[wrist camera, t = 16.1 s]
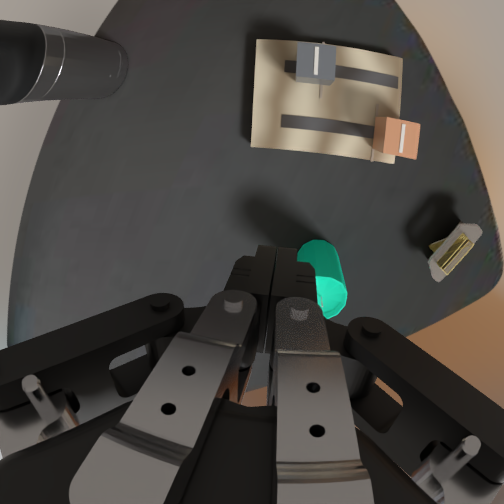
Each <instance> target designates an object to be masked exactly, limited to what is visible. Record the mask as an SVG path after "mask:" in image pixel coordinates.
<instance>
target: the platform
mask: <svg viewBox="0 0 504 504" xmlns="http://www.w3.org/2000/svg"><path fill="white" fill-rule="evenodd" d="M481 234H482V230H481V228H480V227H479V226H478V225H477V224H464V223H463V222H461V221H460V223H459V224H458V225H457V226H456V227H455V229H454V230H453V231H452V232H451V233H450V234H449V236H448V237H447V238H445V239H442V240H440V241H437V242H434V243H432V244H431V245H429V247H430V249H431V250H432V251H433V252H434V253H433V254H432V255H431V256H430V257H429V258H428V260H429V261H428V263H429V267H430V271H431V275H432V277H433V278H434V279H435V280H436V281H437V282H440V281H441V280H442V279H443V278H444V277H445V276H446V275H448V274H449V273H450V272H451V271H452V270H453V269H454V267H455V266H456V265H457V264H458V263H459V262H460V261H461V260H462V258H463V257H464V256H465V255H466V254H467V253H468V252H469V250H470V249H471V248H472V247H473V246H474V243H475V242H476V241H477V239H478V238H479V237H480V236H481ZM472 245H473V246H472ZM466 252H467V253H466ZM450 270H451V271H450ZM449 271H450V272H449Z"/></svg>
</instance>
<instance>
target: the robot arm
mask: <svg viewBox="0 0 504 504" xmlns="http://www.w3.org/2000/svg"><path fill="white" fill-rule="evenodd" d="M127 69H128V58H127V54H126V52H125V50H124V48H123V47H122V46H121V45H119V44H117V43H115V42H111V41H108V40H104V39H101V38H98V37H94V36H90V35H86V34H82V33H77V32H74V31H69V30H65V29H60V28H55V27H49V26H44V25H38V24H31V23H23V22H14V21H5V20H0V105H7V104H14V103H23V102H32V101H43V100H62V99H100V98H105V97H107V96H109V95H111V94H113V93H114V92H115V91H116V90H117V89H118V88H119V87H120V85H121V84H122V82H123V80H124V79H125V76H126V73H127ZM276 255H277V261H276ZM275 266H276V267H275ZM267 326H268V329H267ZM266 332H267V338H266ZM265 338H266V348H265V353H269V354H270V361H269V369H268V385H267V406H259V407H246V406H243V405H241V403H242V399H243V397H244V393H245V390H246V387H247V384H248V381H249V378H250V375H251V372H252V365H253V362H254V360H255V356H256V352H260V353H263V349H264V344H265ZM143 345H145V347H146V352H147V354H146V355H144V356H141V357H139V358H137V359H135V360H132V361H130V362H128V363H126V364H123V365H121V366H119V367H116V368H114V369H111V370H109V365H110V363H111V361H112V360H113V359H114V358H116V357H118V356H120V355H122V354H125V353H127V352H129V351H132V350H134V349H136V348H139V347H141V346H143ZM377 377H378V378H379V379H380V380H382V381H383V382H384V383H386V385H388V386H389V387H390V388H391V389H393V390H394V391H395V392H396V393H397V394H398V395H399V396H400V397H401V399H402V401H403V407H402V406H401V405H400V404H399V403H398V402H396V401H395V400H394V399H393V398H392V397H390V396H389V395H388V394H387V393H386V392H385V391H383V390H382V389H381V388H379V386H378V385H376V384H375V381H376V379H377ZM354 424H355V425H356V426H357V427H358V428H359V429H360V430H359V429H357V428H356V427H355V425H354ZM0 449H1V453H2V456H3V459H1V460H0V504H490V503H491V502H492V501H493V499H494V497H495V496H496V494H497V492H498V491H499V489H500V488H501V486H502V485H503V484H504V409H502V408H501V407H500V406H499V405H497V404H496V403H495V402H493V401H492V400H491V399H489V398H488V397H487V396H485V395H484V394H483V393H481V392H480V391H478V390H477V389H476V388H474V387H473V386H472V385H470V384H469V383H468V382H466V381H465V380H464V379H462V378H461V377H460V376H458V375H457V374H455V373H454V372H453V371H451V370H450V369H449V368H447V367H446V366H445V365H443V364H442V363H440V362H439V361H437V360H436V359H435V358H433V357H432V356H431V355H429V354H428V353H426V352H425V351H423V350H422V349H421V348H419V347H418V346H417V345H415V344H414V343H413V342H411V341H410V340H408V339H407V338H406V337H404V336H403V335H401V334H400V333H399V332H397V331H396V330H394V329H393V328H392V327H390V326H389V325H387V324H386V323H384V322H383V321H381V320H378V319H376V318H372V317H359V318H355V319H353V320H352V321H351V322H350V323H349V324H348V327H347V326H344V325H340V324H337V323H334V322H332V321H330V320H328V319H327V318H325V317H324V316H323V311H322V308H321V307H320V306H319V305H318V300H317V286H316V274H315V269H314V267H313V266H312V265H311V264H310V263H309V262H300V261H297V249H293V248H284V247H279V248H278V254H277V247H274V246H264V245H258V249H257V252H256V255H255V257H253V256H243V257H241V258H240V259H238V260H237V261H236V262H235V265H234V267H233V269H232V272H231V275H230V277H229V279H228V281H227V284H226V286H225V288H224V291H221V292H219V293H217V294H215V295H214V296H213V297H212V298H211V300H210V301H209V303H208V305H207V306H204V307H196V308H184V304H183V301H182V300H181V299H180V298H179V297H178V296H176V295H173V294H169V293H157V294H152V295H149V296H146V297H144V298H141V299H138V300H136V301H133V302H130V303H128V304H125V305H122V306H119V307H117V308H114V309H111V310H109V311H106V312H103V313H100V314H98V315H95V316H92V317H90V318H87V319H84V320H81V321H79V322H76V323H73V324H71V325H68V326H65V327H62V328H60V329H57V330H54V331H52V332H49V333H46V334H43V335H41V336H38V337H35V338H32V339H30V340H27V341H24V342H21V343H19V344H16V345H13V346H10V347H8V348H5V349H2V350H0ZM400 467H401V468H402V469H403V470H404V471H405V472H406V473H407V474H408V475H409V476H410V477H411V478H410V477H409V476H408V475H407V474H406V473H405V472H404V471H403V470H402V469H401V468H400Z"/></svg>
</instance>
